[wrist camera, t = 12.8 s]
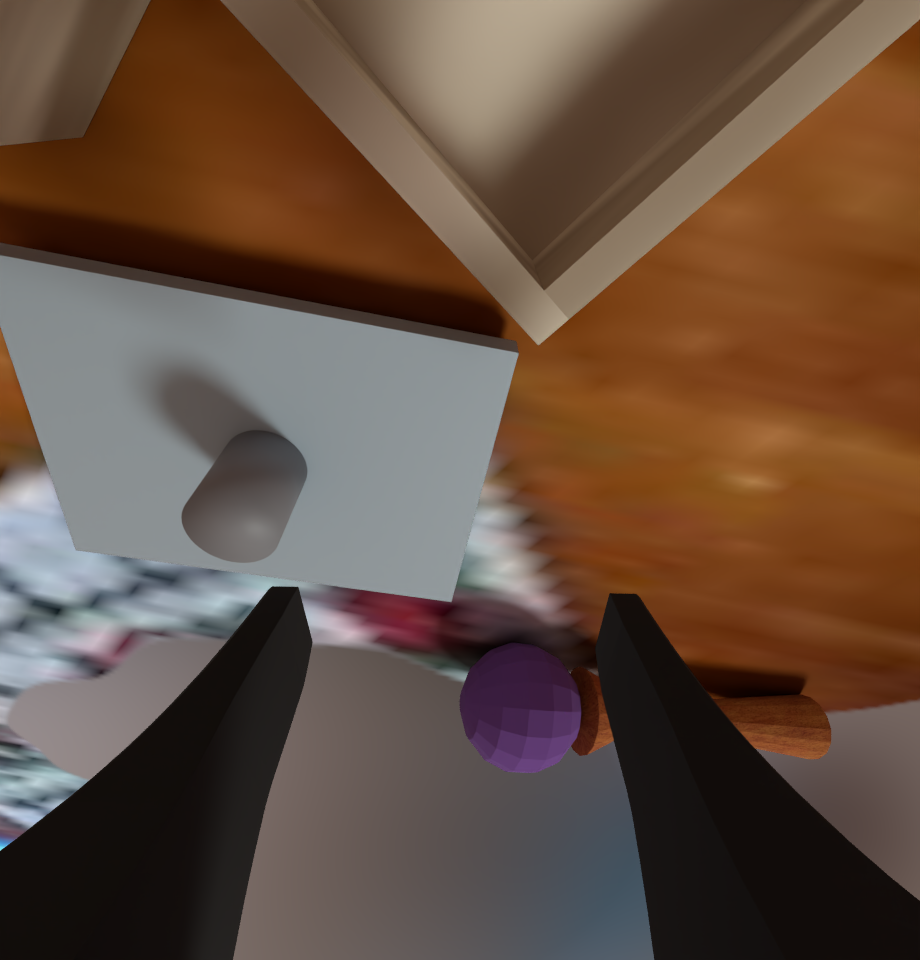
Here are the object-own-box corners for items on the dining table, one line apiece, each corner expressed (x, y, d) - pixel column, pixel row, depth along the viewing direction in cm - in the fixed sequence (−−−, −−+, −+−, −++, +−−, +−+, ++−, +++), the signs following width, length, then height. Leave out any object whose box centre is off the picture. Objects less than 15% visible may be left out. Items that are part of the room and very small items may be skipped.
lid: (514, 330, 18) (529, 405, 14) (452, 569, 25) (448, 670, 21) (22, 235, 17) (-141, 286, 12) (102, 519, 24) (17, 617, 19)
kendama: (791, 798, 30) (448, 783, 26) (750, 691, 34) (448, 666, 30) (876, 771, 25) (481, 749, 22) (818, 653, 29) (476, 617, 26)
